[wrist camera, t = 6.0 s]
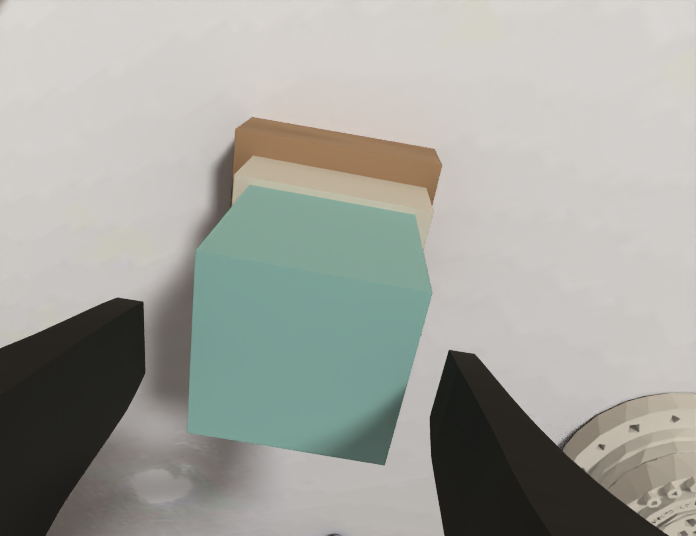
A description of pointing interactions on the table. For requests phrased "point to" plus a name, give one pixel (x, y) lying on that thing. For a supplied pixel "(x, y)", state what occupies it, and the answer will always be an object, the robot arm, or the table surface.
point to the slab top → (336, 188)
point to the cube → (306, 324)
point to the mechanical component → (645, 458)
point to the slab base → (337, 153)
